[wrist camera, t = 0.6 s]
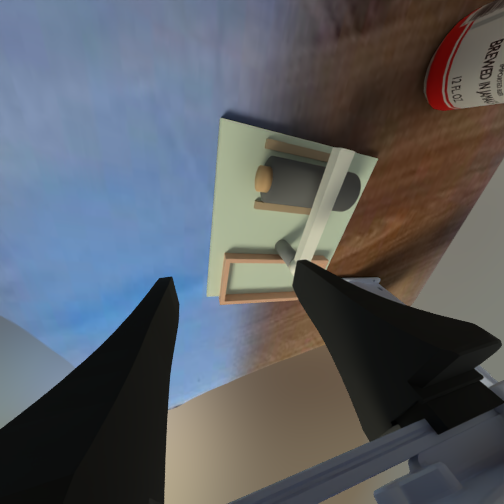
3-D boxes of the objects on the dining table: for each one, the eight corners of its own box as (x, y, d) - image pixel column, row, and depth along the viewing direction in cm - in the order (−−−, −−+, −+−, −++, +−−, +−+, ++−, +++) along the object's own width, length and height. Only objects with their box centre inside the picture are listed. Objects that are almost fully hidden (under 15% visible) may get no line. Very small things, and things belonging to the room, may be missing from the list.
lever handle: (349, 151, 13) (359, 152, 12) (301, 272, 18) (306, 278, 17) (328, 146, 12) (338, 146, 11) (286, 272, 18) (290, 279, 17)
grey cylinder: (346, 171, 18) (375, 177, 15) (331, 206, 20) (355, 217, 17) (257, 152, 15) (271, 155, 12) (249, 195, 17) (260, 207, 14)
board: (371, 158, 19) (416, 162, 15) (312, 289, 27) (331, 313, 24) (219, 119, 14) (228, 109, 10) (206, 293, 23) (208, 325, 19)
